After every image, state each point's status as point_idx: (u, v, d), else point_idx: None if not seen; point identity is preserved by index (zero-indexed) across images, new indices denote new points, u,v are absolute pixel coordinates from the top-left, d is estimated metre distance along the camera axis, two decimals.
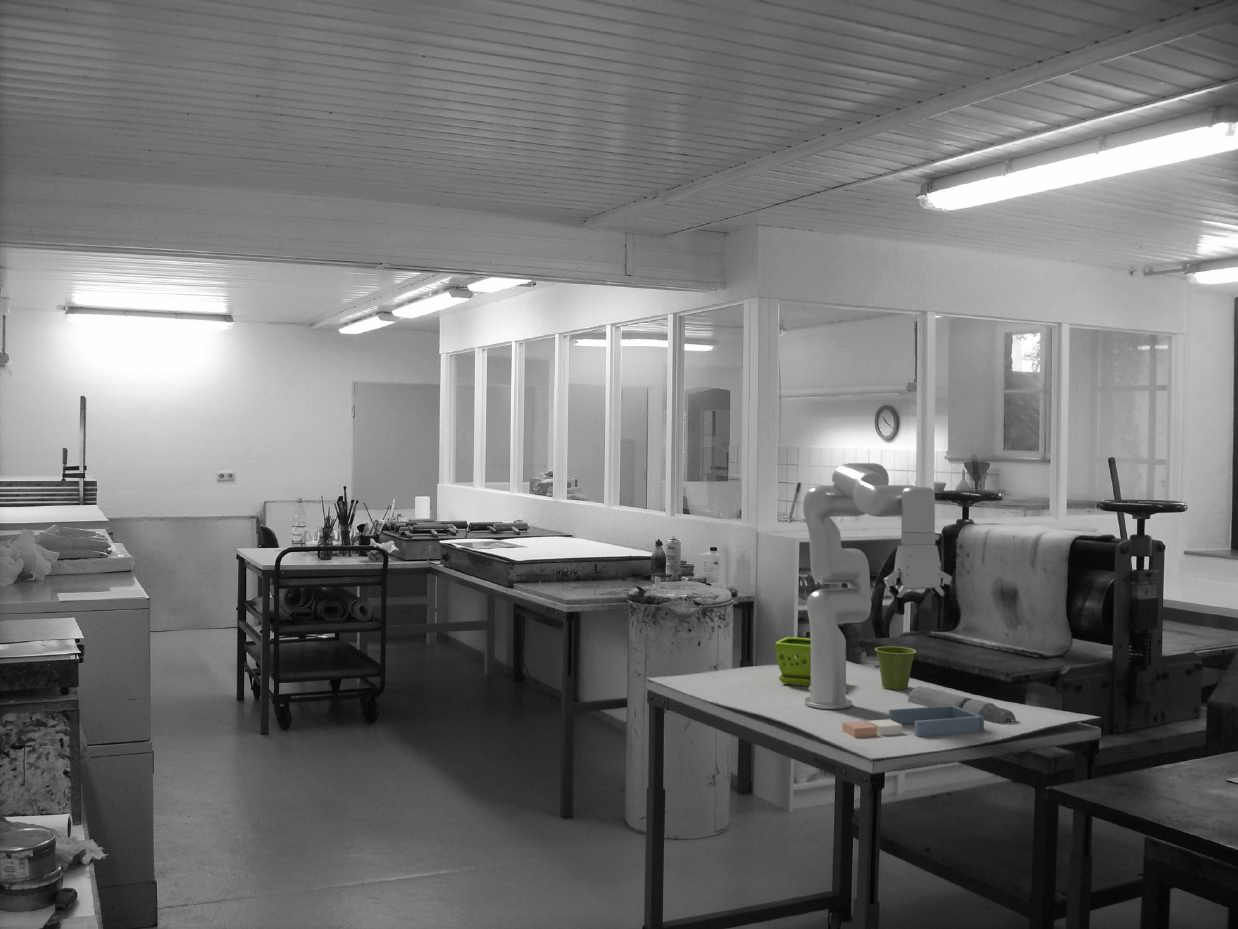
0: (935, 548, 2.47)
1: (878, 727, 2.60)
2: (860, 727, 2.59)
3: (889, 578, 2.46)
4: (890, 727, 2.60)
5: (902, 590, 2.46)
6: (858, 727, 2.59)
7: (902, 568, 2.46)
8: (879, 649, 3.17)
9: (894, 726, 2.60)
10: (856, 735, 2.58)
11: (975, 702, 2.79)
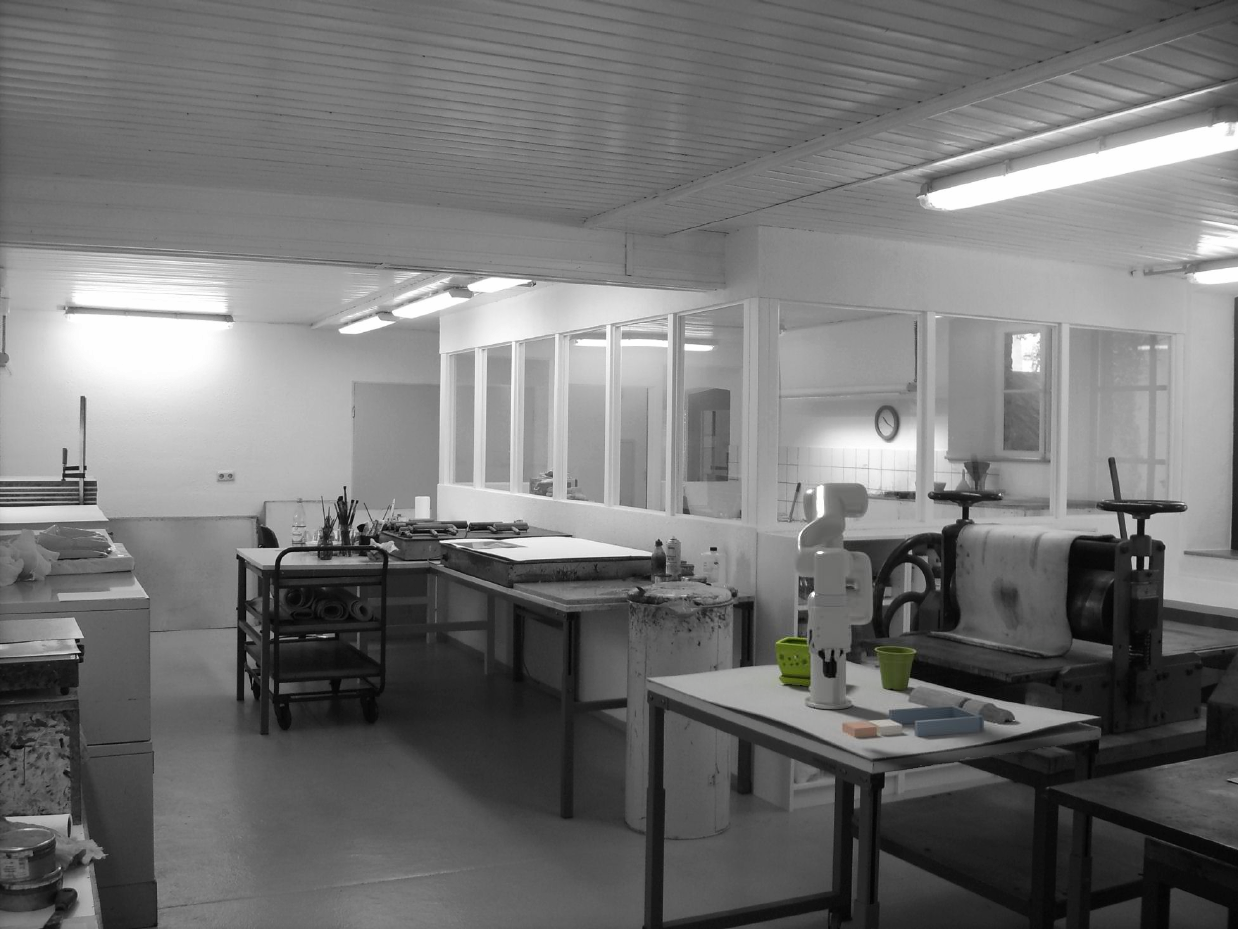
0: (846, 609, 2.57)
1: (878, 727, 2.60)
2: (860, 727, 2.59)
3: (812, 649, 2.56)
4: (890, 727, 2.60)
5: (826, 654, 2.57)
6: (858, 727, 2.59)
7: (813, 629, 2.56)
8: (879, 649, 3.17)
9: (894, 726, 2.60)
10: (856, 735, 2.57)
11: (975, 702, 2.79)
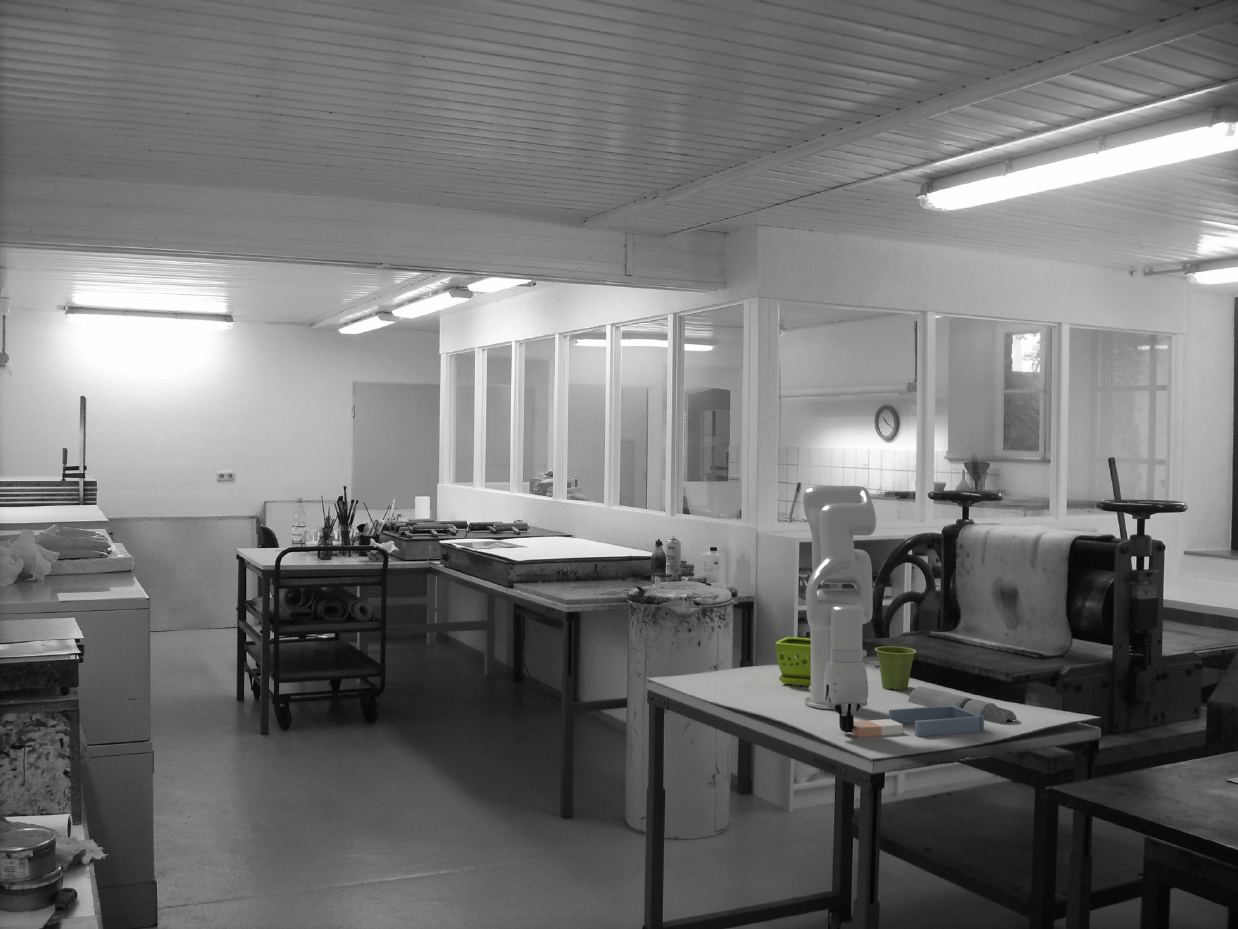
0: (862, 664, 2.59)
1: None
2: (865, 727, 2.59)
3: (829, 704, 2.58)
4: (891, 727, 2.60)
5: (843, 709, 2.58)
6: (863, 727, 2.59)
7: (830, 684, 2.57)
8: (879, 649, 3.17)
9: (895, 726, 2.60)
10: (861, 735, 2.58)
11: (976, 702, 2.79)
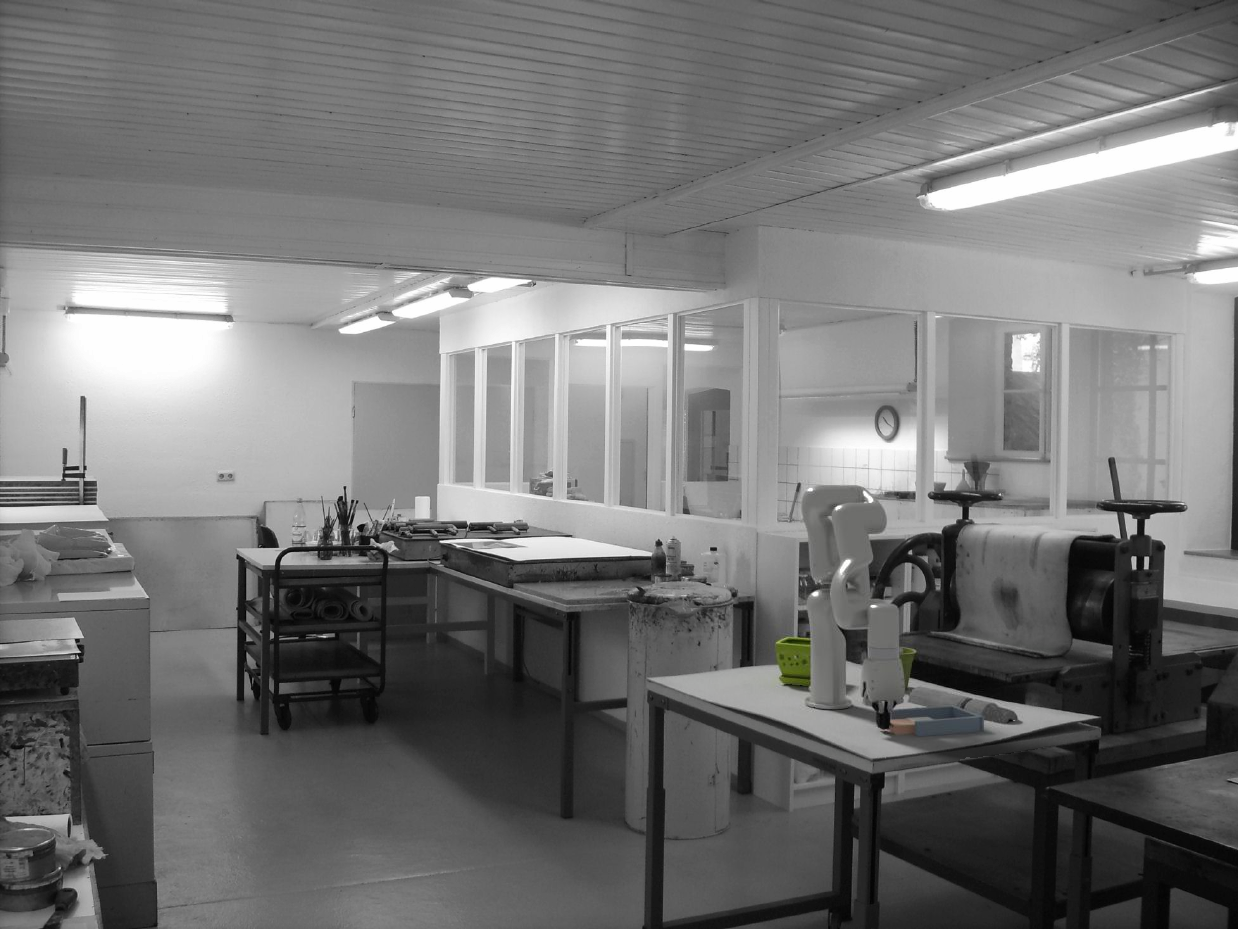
0: (899, 662, 2.62)
1: None
2: (902, 724, 2.61)
3: (866, 701, 2.61)
4: None
5: (880, 706, 2.61)
6: (900, 724, 2.61)
7: (867, 682, 2.60)
8: None
9: None
10: (897, 732, 2.60)
11: (977, 702, 2.79)
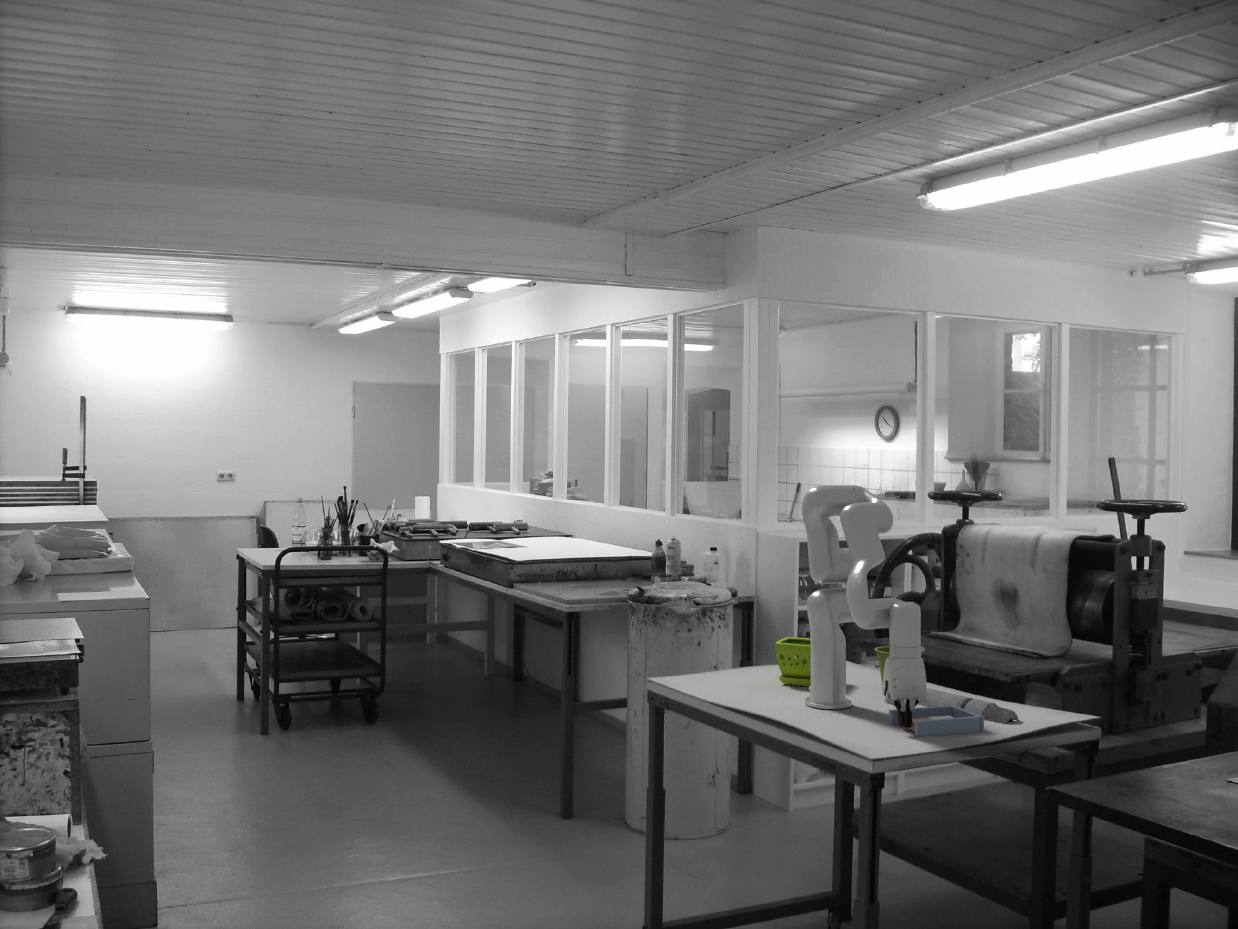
0: (921, 661, 2.63)
1: None
2: None
3: (888, 699, 2.63)
4: None
5: (902, 704, 2.63)
6: None
7: (890, 680, 2.62)
8: (879, 649, 3.17)
9: None
10: None
11: (977, 702, 2.79)
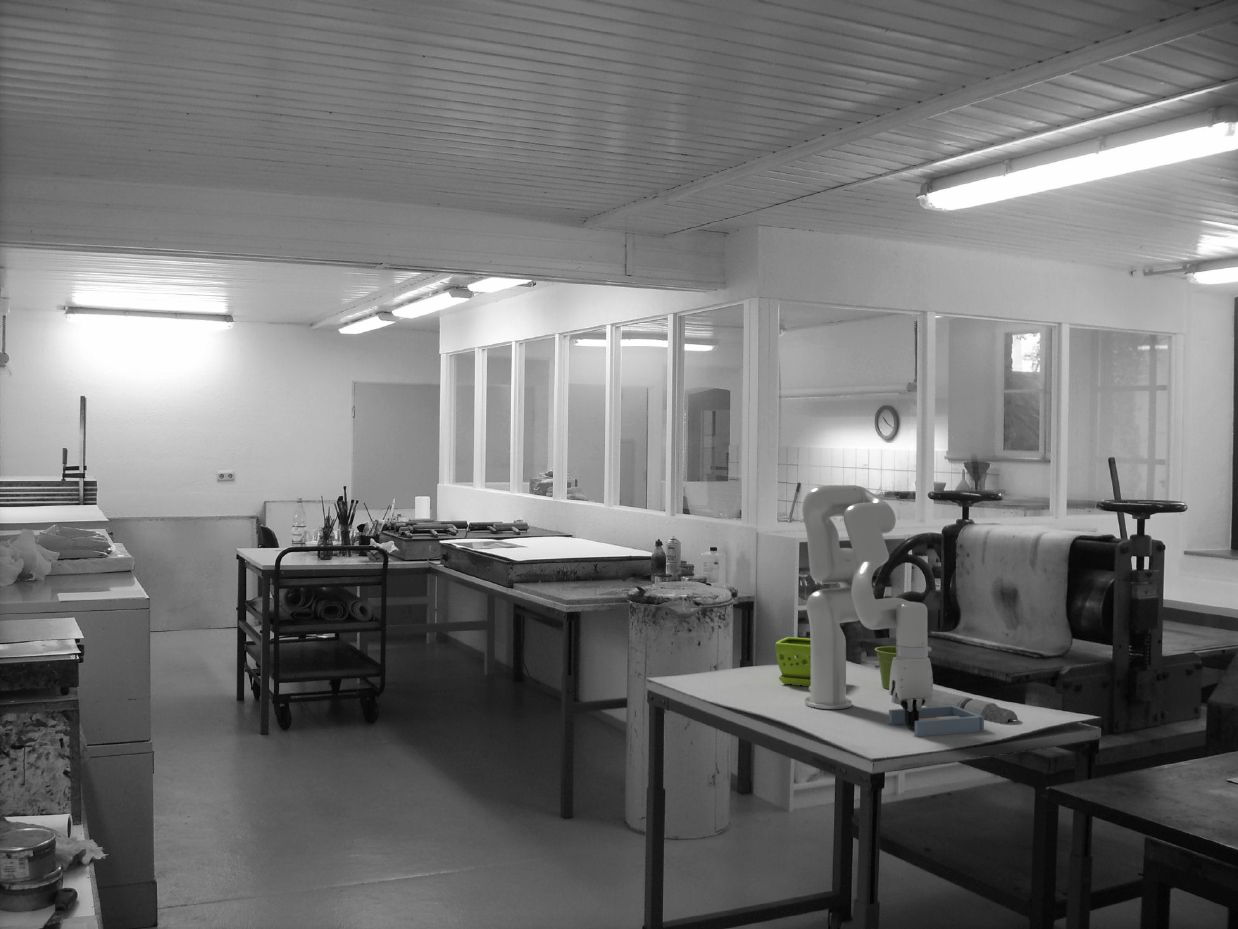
0: (928, 661, 2.64)
1: None
2: None
3: (895, 699, 2.63)
4: None
5: (909, 704, 2.63)
6: None
7: (897, 680, 2.62)
8: (879, 649, 3.17)
9: None
10: None
11: (977, 702, 2.79)
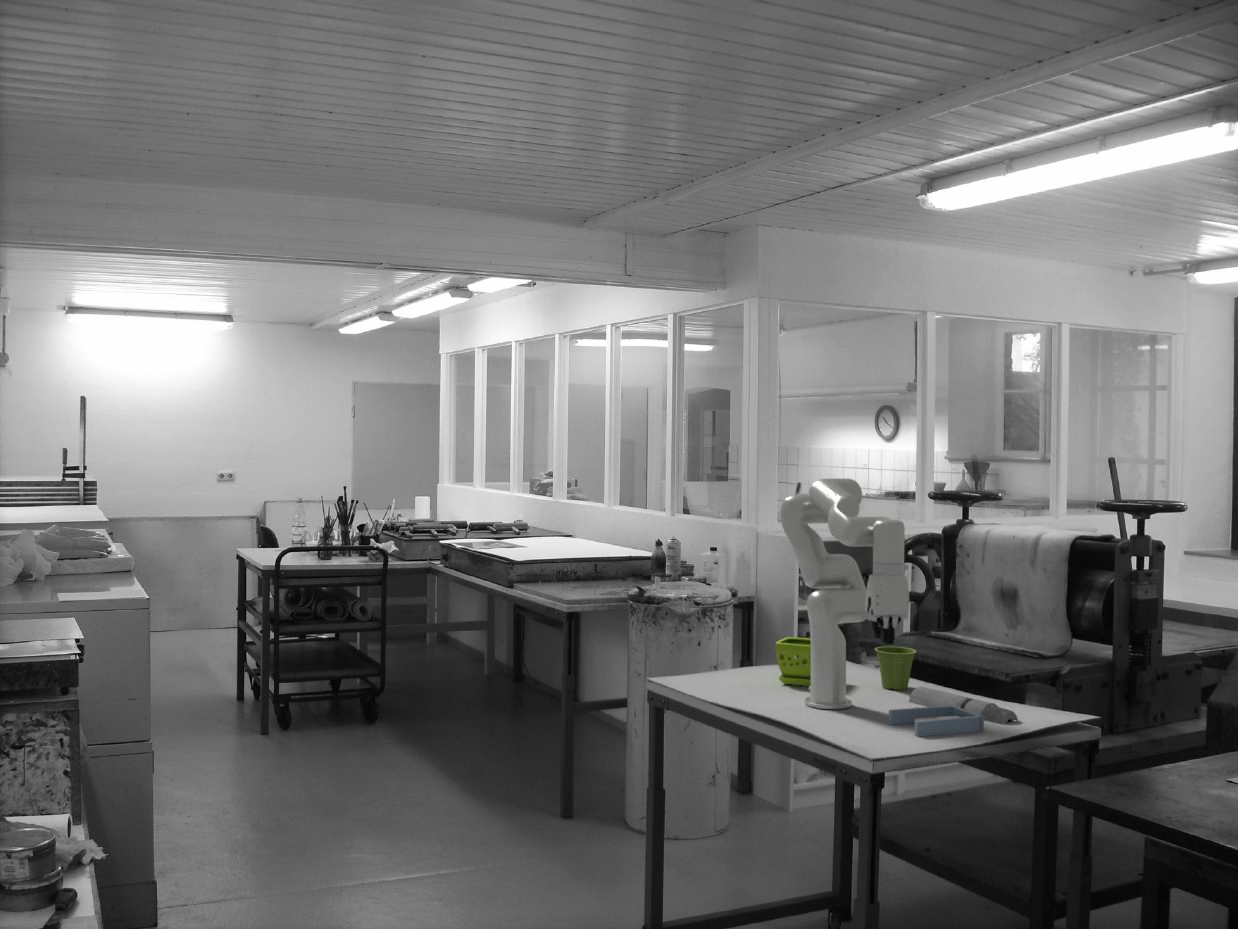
0: (904, 578, 2.62)
1: None
2: None
3: (871, 616, 2.62)
4: None
5: (884, 621, 2.62)
6: None
7: (873, 597, 2.61)
8: (879, 649, 3.17)
9: None
10: None
11: (977, 702, 2.79)
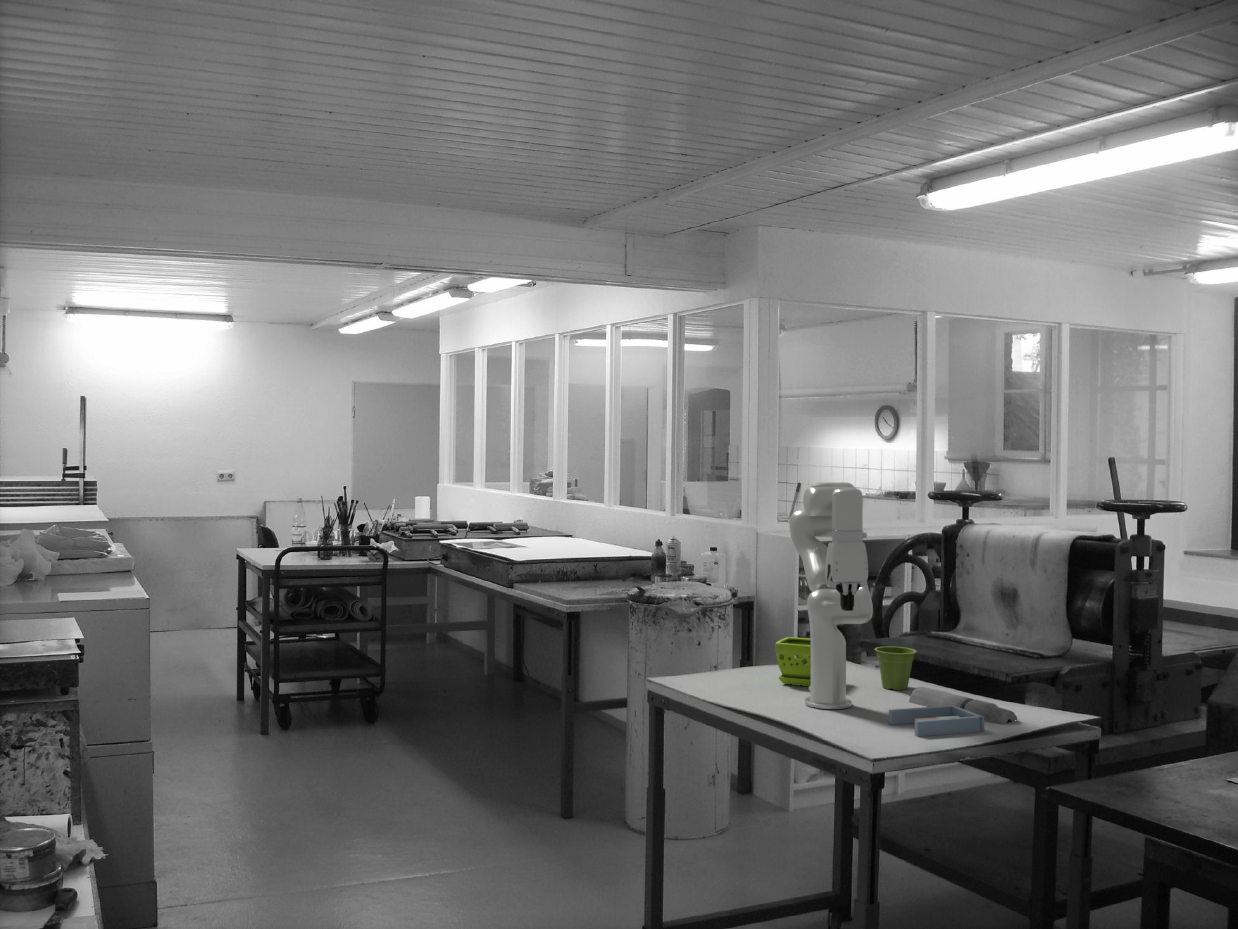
0: (863, 545, 2.68)
1: None
2: None
3: (830, 583, 2.67)
4: None
5: (844, 588, 2.67)
6: None
7: (832, 563, 2.66)
8: (879, 649, 3.17)
9: None
10: None
11: (977, 702, 2.79)
